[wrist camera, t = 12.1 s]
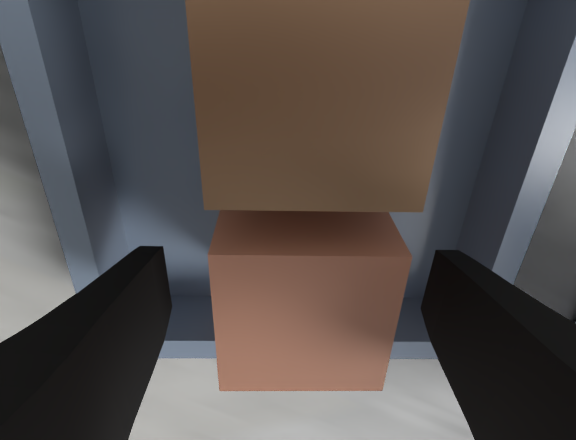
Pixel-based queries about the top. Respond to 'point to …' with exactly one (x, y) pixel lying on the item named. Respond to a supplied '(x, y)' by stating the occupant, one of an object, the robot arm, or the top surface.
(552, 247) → the top surface
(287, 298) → the terracotta block
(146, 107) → the tray
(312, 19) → the tan block
